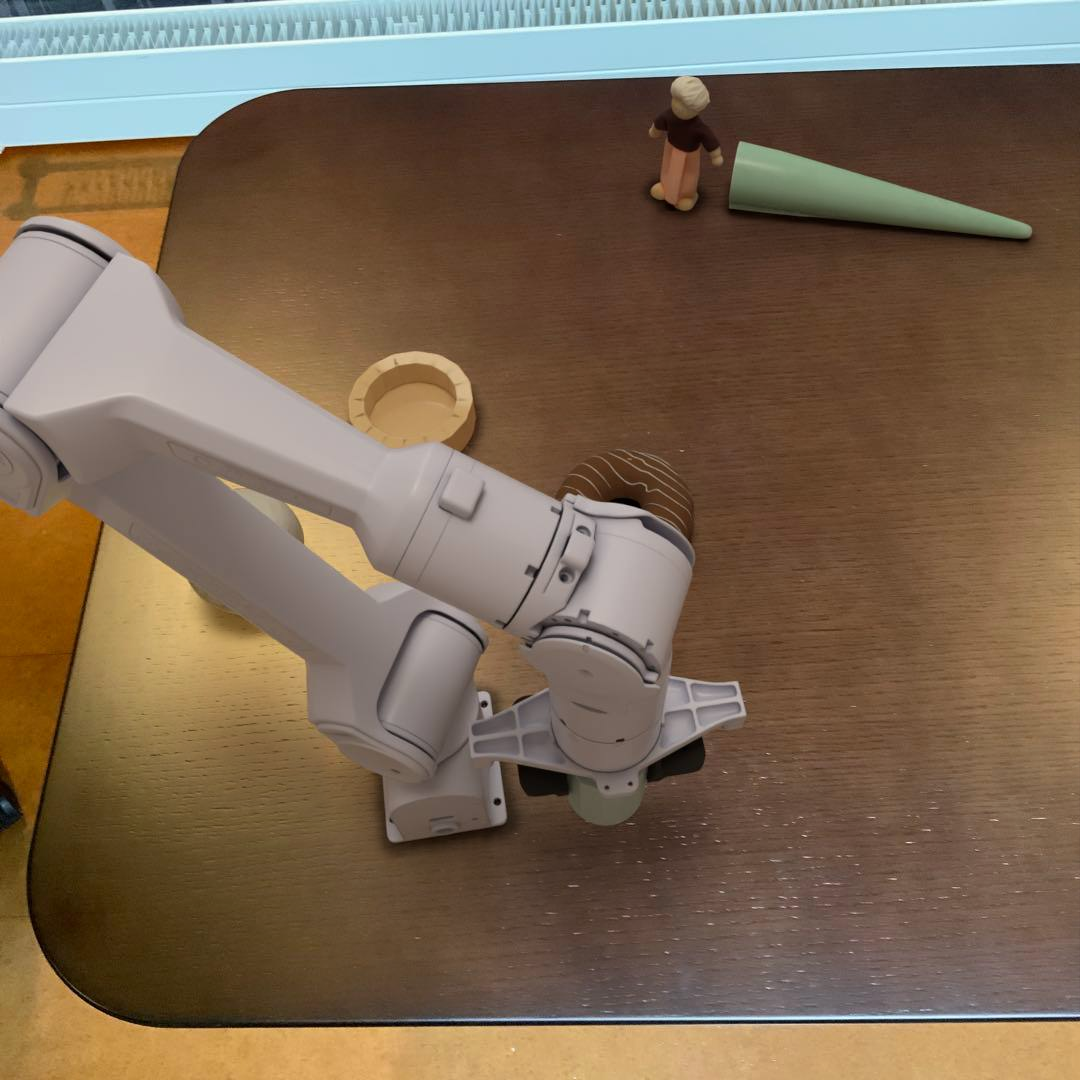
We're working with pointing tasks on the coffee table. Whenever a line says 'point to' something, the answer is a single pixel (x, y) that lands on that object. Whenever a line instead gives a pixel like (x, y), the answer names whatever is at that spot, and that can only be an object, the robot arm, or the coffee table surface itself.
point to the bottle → (602, 800)
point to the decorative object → (275, 512)
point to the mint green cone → (849, 196)
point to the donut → (634, 485)
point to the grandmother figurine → (684, 143)
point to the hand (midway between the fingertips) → (604, 772)
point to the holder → (414, 401)
